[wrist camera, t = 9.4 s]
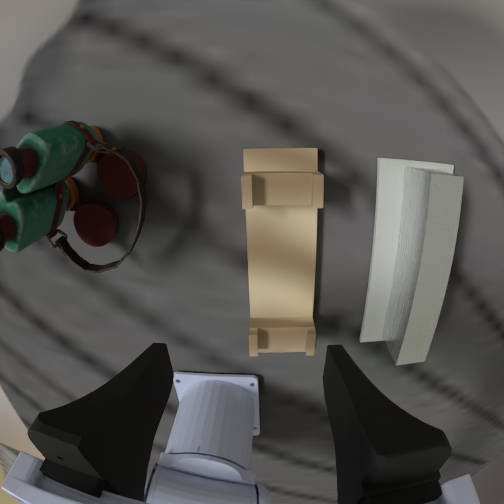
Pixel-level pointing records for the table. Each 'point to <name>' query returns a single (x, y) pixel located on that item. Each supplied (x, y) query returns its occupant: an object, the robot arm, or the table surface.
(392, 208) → the mat
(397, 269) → the rail
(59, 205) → the binoculars
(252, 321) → the rack
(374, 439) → the robot arm
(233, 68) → the table surface
